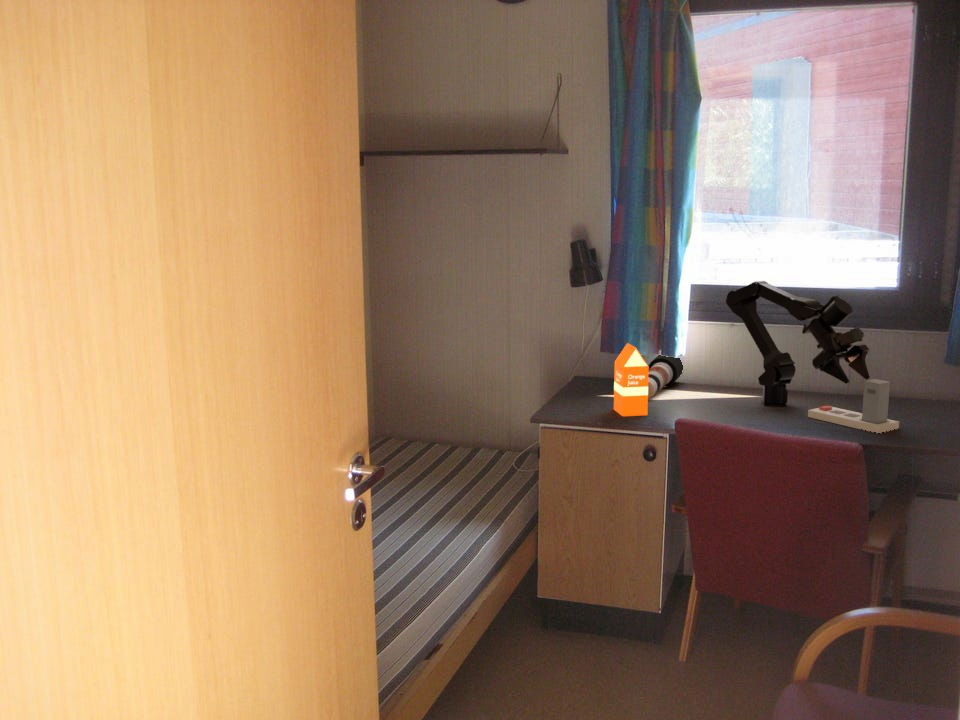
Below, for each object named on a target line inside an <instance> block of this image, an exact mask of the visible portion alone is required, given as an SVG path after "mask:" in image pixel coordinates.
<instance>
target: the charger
mask: <svg viewBox="0 0 960 720" xmlns="http://www.w3.org/2000/svg"><path fill="white" fill-rule="evenodd" d="M890 386H891V381H888V380H882V379H876V378H874V379H867V380H864V383H863V397H862V398H863V399H862V412H861V413H862V421H865V422H869V423H873V424H882V423H886V422H887V419H888V414H889V402H890V401H889V400H890Z"/></svg>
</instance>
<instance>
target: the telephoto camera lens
mask: <svg viewBox="0 0 960 720" xmlns="http://www.w3.org/2000/svg"><path fill="white" fill-rule="evenodd" d="M647 365H648V366H649V371H648V399H651V398H652V397H653V396H655V394H656V393H658V392H660V391H661V390H662V389H663V388H665V387H664V386H668V387H671V386H672V385H673V384H674V383H675V382H676V381H677V380H678V379H679V378H680V377H681V376H682V375H683V373H682V370H683V365H682V362H681V360H680V358H674V357H666V356H661V355H659V354H658V355H657V356H656V357H655V358H654V359H652V360H651V361H650V362H649V364H647ZM681 374H682V375H681ZM680 375H681V376H680Z"/></svg>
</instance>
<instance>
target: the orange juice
mask: <svg viewBox="0 0 960 720" xmlns="http://www.w3.org/2000/svg"><path fill="white" fill-rule="evenodd" d="M648 365H649V364H648V363H646V361H645V360H644V358H643V357H642V355H641V354H640V352H639V350H638V349H637V347H636V346H633V345H632V344H630V343H628V342H627V343H626V344H625V345H624V347H623V349H622V351H621V352H620V353H619V355H618V356H617V358H616V359H615V360H614V377H613V378H614V382H613V410H614V411H615V412H616V413H617V414H619V415H620V416H621V417H635V416H636V417H637V416H648V410H649V409H648V406H649V405H648V402H649V398H648V371H649V366H648Z"/></svg>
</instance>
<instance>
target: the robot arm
mask: <svg viewBox="0 0 960 720" xmlns="http://www.w3.org/2000/svg"><path fill="white" fill-rule="evenodd" d="M760 298H763V299H765V300H767V301H769V302H770V303H773V304H776V305H777V306H779V307H781V308H784V309H785V310H787V312H788V314H789V315H791V317H793V318H795V320H797V321H801V322H803V321H809V322H808V323H805V324H802V325H803V328H802V331H801V332H802V334H811V336H812V337H813V338H814V340H815V341H816V343H817V345H816V348H817V349H818V350H819V349H822V350H821V351H820V352H819V353H818V354H817V355H816V356H815V357H814V358H813V359H812V361H811V362H812V363H811V365H812V366H813V367H814V369H815V370H819V371H820V372H824V373H826V374H828V375H829V376H832V377H833V378H835V379H837V380H839V381H840V382H842V383H844V384H849V383H850V380H849V377H848V376H847V374H846V373H845V371H844V369H843V367H842V366H841V363H840V360H844V361H845V362H846V363H847V364H848V367H850V368H851V369H852V370H854V371H855V372H856V373H857V374H858V375H860V376H861V377H862V378H863V379H865V381H867V380H870V377H871V376H870V373H869V370H868V367H867V364H866V363H867V362H866V358H867V356H868V354H869V351H870V348H869V347H868V346H867V344H864V343H860V344H854V343H857V342H862V341H863V338H864V335H865V333H864V331H863V330H862V329H860V328H859V327H854V328H851V329H849V331H846V332H843V333H842V332H841V331H839V332H837V331H836V329H834V327H838V326H840V325H841V324H842V323H843V322H844V321H845V320H846V319H847V318H848V317H849V316H851V314H853V307H852V306H851V304H850V303H848V302H847V301H845V300H844V299H843V298H840V297H839V296H838V295H834V296H832V297H830V298H829V300H828V301H827V302H826V303H825V304H821V303H820V301H818V300H817V299H813V298H809V297H802V296H796V295H794V294H792V293H790V292H787V291H785V290H783V289H780V288H779V287H776V286H774V285H773V284H770V283H768V282H767V281H765V280H760V281H759V280H758V281H757V280H756V281H753V282H751V283H749V284H748V285H746V286H743V287H741V288H738V289H735V290H734V289H733V290H730V291H729V292H728V293H727V294H726V299H725V303H726V306H727V307H728V308H729V310H730V311H731V312H732V313H733V314H734V315H736V316H737V317H738V318H740V320H742V321H743V324H744V325H745V327H746V329H747V331H748V332H749V334H750V337H751V338H752V340H753V341H754V343H755V345H756V347H757V348H758V350H759V352H760V354H761V355H762V358H763V366H762V367H763V369H764V371H763V372H762V374H760V376H759V377H758V378H757V379H758V384H759V385H760V386H762V387H763V388H762V399H761V403H762V405H763V406H765V407H787V404H788V397H789V396H788V395H789V393H788V392H789V390H788V389H787V385H790V384H791V382H792V380H793V378H794V376H795V374H796V371H797V369H796V366H795V365H796V362H794V360H793V359H792V356H791V355H790V353H789V352H787V351H786V352H782V351H780V350H779V348H778V347H777V345H776V343H775V341H774V340H773V338H772V336H771V334H770V333H769V331H768V329H767V327H766V326H765V324H764V322H763V321H762V319H761V316H760V315H759V314H758V311H757V307H758V306H757V305H758V303H757V300H759V299H760ZM853 344H854V345H853Z"/></svg>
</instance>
